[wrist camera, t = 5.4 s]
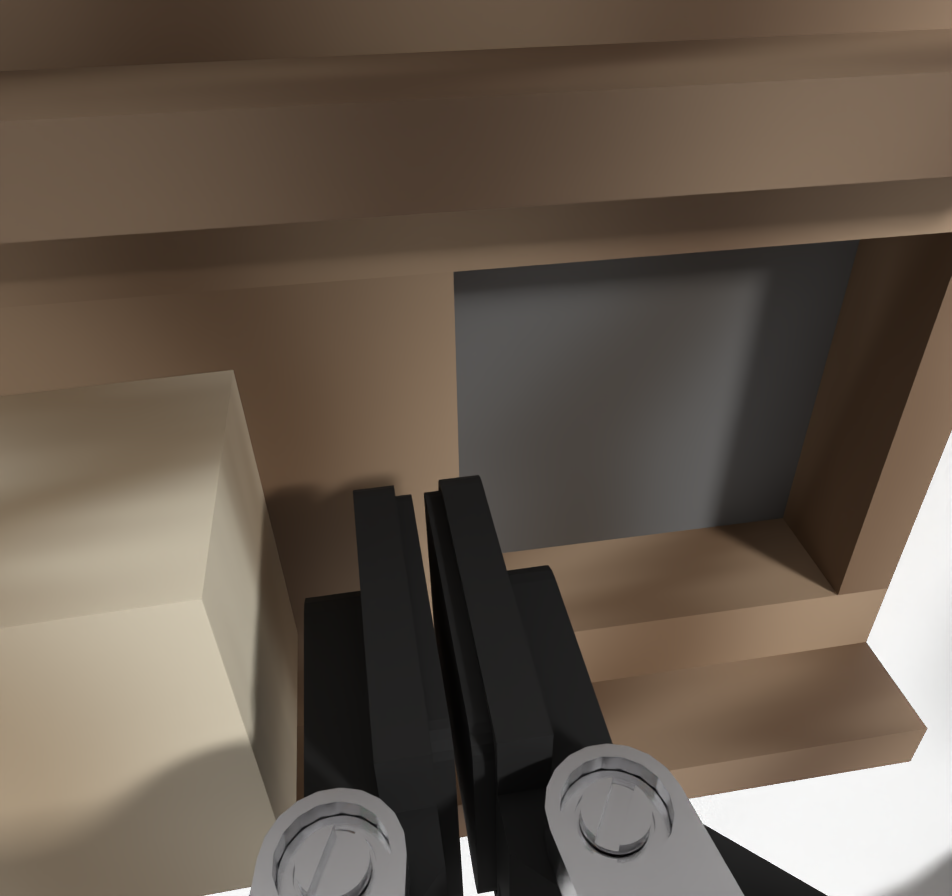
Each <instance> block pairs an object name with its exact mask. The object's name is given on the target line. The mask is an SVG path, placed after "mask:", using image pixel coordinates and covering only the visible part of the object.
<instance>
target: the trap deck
mask: <svg viewBox="0 0 952 896" xmlns="http://www.w3.org/2000/svg"><path fill="white" fill-rule="evenodd" d="M228 370H233V371H234V375H235V379H236V383H237V387H238V391H239V395H240V400H241V404H242V408H243V412H244V416H245V420H246V424H247V428H248V432H249V436H250V440H251V444H252V449H253V453H254V457H255V461H256V465H257V469H258V473H259V477H260V481H261V485H262V489H263V493H264V498H265V502H266V506H267V510H268V514H269V518H270V522H271V526H272V530H273V534H274V538H275V542H276V547H277V551H278V555H279V559H280V563H281V567H282V571H283V575H284V579H285V583H286V587H287V591H288V596H289V600H290V604H291V608H292V612H293V616H294V620H295V624H296V628H297V632H298V670H297V779H296V802H297V801H299V800H301V799H303V798H304V602H305V598H310V597H317V596H325V595H332V594H339V593H347V592H354V591H360V579H359V566H358V553H357V540H356V527H355V514H354V501H353V490H359V489H367V488H375V487H383V486H392V485H394V490H395V496H400V495H408V494H411V495H412V500H413V506H414V512H415V518H416V524H417V530H418V536H419V542H420V548H421V554H422V560H423V566H424V572H425V578H426V584H427V590H428V596H429V602H430V608H431V613H432V619H433V609H432V596H431V583H430V570H429V557H428V544H427V531H426V518H425V505H424V492H433V491H438V481H439V480H441V479H449V478H457V477H465V476H474V475H479V476H480V478H481V481H482V484H483V487H484V491H485V495H486V498H487V502H488V505H489V509H490V512H491V516H492V519H493V523H494V526H495V530H496V533H497V537H498V540H499V544H500V548H501V551H502V555H503V558H504V562H505V565H506V569H507V570H514V569H522V568H529V567H536V566H544V565H549V567H550V568H551V569H552V571H553V574H554V576H555V579H556V581H557V584H558V587H559V590H560V593H561V596H562V599H563V602H564V605H565V607H566V610H567V613H568V616H569V619H570V622H571V625H572V628H573V630H574V633H575V636H576V639H577V642H578V645H579V648H580V651H581V654H582V656H583V659H584V662H585V665H586V668H587V671H588V674H589V677H590V680H591V682H592V685H593V688H594V691H595V694H596V697H597V700H598V703H599V705H600V708H601V711H602V714H603V717H604V720H605V723H606V726H607V729H608V731H609V734H610V737H611V740H612V743H613V744H615V745H624V746H629V747H632V748H634V749H637V750H639V751H642V752H644V753H647V754H649V755H650V756H652V757H653V758H654V759H656V760H657V761H658V762H660V763H661V764H662V765H664V766H665V767H667V769H668V770H669V771H670V772H671V774H672V775H673V776H674V778H675V779H676V780H677V781H678V783H679V784H680V785H681V787H682V789H683V790H684V792H685V794H686V796H687V797H688V799H690V798H696V797H702V796H708V795H714V794H719V793H725V792H731V791H737V790H743V789H749V788H755V787H761V786H767V785H773V784H779V783H784V782H790V781H796V780H802V779H808V778H814V777H820V776H826V775H832V774H838V773H844V772H849V771H855V770H861V769H867V768H873V767H879V766H885V765H891V764H897V763H903V762H909V761H911V759H912V757H913V755H914V753H915V751H916V749H917V747H918V745H919V743H920V742H921V740H922V738H923V736H924V734H925V732H926V730H927V727H926V726H925V725H924V723H923V722H922V720H921V719H920V718H919V716H918V715H917V713H916V712H915V710H914V709H913V708H912V706H911V705H910V703H909V702H908V701H907V699H906V698H905V696H904V695H903V694H902V692H901V691H900V689H899V688H898V686H897V685H896V684H895V682H894V681H893V679H892V678H891V677H890V675H889V674H888V672H887V671H886V670H885V668H884V667H883V665H882V664H881V662H880V661H879V660H878V658H877V657H876V655H875V654H874V653H873V651H872V650H871V648H870V647H869V646H868V644H867V643H866V641H867V638H868V636H869V633H870V631H871V629H872V626H873V624H874V621H875V619H876V616H877V614H878V611H879V609H880V606H881V604H882V601H883V599H884V596H885V594H886V591H887V589H888V586H889V584H890V582H891V579H892V577H893V574H894V572H895V569H896V567H897V564H898V562H899V559H900V557H901V554H902V552H903V549H904V547H905V544H906V542H907V539H908V537H909V535H910V532H911V530H912V527H913V525H914V522H915V520H916V517H917V515H918V512H919V510H920V507H921V505H922V502H923V500H924V497H925V495H926V492H927V490H928V487H929V485H930V483H931V480H932V478H933V475H934V473H935V470H936V468H937V465H938V463H939V460H940V458H941V455H942V453H943V450H944V448H945V445H946V443H947V440H948V438H949V436H950V433H951V431H952V0H0V396H8V395H17V394H25V393H34V392H43V391H52V390H61V389H69V388H78V387H87V386H96V385H105V384H113V383H122V382H131V381H140V380H149V379H157V378H166V377H175V376H184V375H192V374H201V373H210V372H219V371H228ZM433 625H434V622H433ZM455 772H456V788H457V804H458V820H459V835H460V837H465V836H467V831H466V825H465V819H464V813H463V807H462V801H461V795H460V789H459V783H458V777H457V771H456V765H455Z"/></svg>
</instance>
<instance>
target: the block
mask: <svg viewBox="0 0 952 896" xmlns="http://www.w3.org/2000/svg"><path fill="white" fill-rule="evenodd" d="M297 670H298V632H297V628H296V624H295V620H294V616H293V612H292V608H291V604H290V600H289V596H288V591H287V587H286V583H285V579H284V575H283V571H282V567H281V563H280V559H279V555H278V551H277V547H276V542H275V538H274V534H273V530H272V526H271V522H270V518H269V514H268V510H267V506H266V502H265V498H264V493H263V489H262V485H261V481H260V477H259V473H258V469H257V465H256V461H255V457H254V453H253V449H252V444H251V440H250V436H249V432H248V428H247V424H246V420H245V416H244V412H243V408H242V404H241V400H240V395H239V391H238V387H237V383H236V379H235V375H234V371H233V370H228V371H219V372H210V373H201V374H192V375H184V376H175V377H166V378H157V379H149V380H140V381H131V382H122V383H113V384H105V385H96V386H87V387H78V388H69V389H61V390H52V391H43V392H34V393H25V394H17V395H8V396H0V896H204V895H209V894H215V893H220V892H225V891H231V890H236V889H242V888H247V887H251V886H252V881H253V876H254V870H255V865H256V860H257V857H258V854H259V851H260V849H261V846H262V843H263V840H264V837H265V835H266V834H267V833H268V831H269V830H270V828H271V827H272V826H273V824H274V823H275V821H276V820H277V818H278V817H279V816H280V815H281V814H283V813H284V812H285V811H286V810H287V809H289V808H290V807H291V806H292V805H293V804H295V803H296V779H297Z"/></svg>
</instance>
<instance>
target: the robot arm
mask: <svg viewBox="0 0 952 896" xmlns="http://www.w3.org/2000/svg"><path fill="white" fill-rule="evenodd" d="M353 501H354V514H355V527H356V540H357V553H358V566H359V579H360V591H354V592H347V593H339V594H332V595H325V596H317V597H310V598H305V602H304V798H303V799H301V800H299V801H297V802H296V803H295V804H293V805H292V806H291V807H290V808H289V809H287V810H286V811H285V812H284V813H283V814H281V815H280V816H279V817H278V818H277V820H276V821H275V823H274V824H273V826H272V827H271V828H270V830H269V831H268V833H267V834H266V835H265V837H264V840H263V843H262V846H261V849H260V851H259V854H258V857H257V860H256V865H255V870H254V876H253V881H252V886H251V891H250V895H249V896H463V883H462V867H461V851H460V835H459V820H458V804H457V788H456V772H455V765H456V771H457V777H458V783H459V789H460V795H461V801H462V807H463V813H464V819H465V825H466V831H467V837H468V843H469V849H470V855H471V861H472V867H473V873H474V879H475V884H476V889H477V893H478V894H479V893H485V892H490V891H494V894H495V896H827V895H825V894H824V893H822V892H820V891H818V890H817V889H815V888H813V887H811V886H810V885H808V884H806V883H804V882H803V881H801V880H799V879H798V878H796V877H794V876H792V875H791V874H789V873H787V872H785V871H784V870H782V869H780V868H778V867H777V866H775V865H773V864H771V863H770V862H768V861H766V860H765V859H763V858H761V857H759V856H758V855H756V854H754V853H752V852H751V851H749V850H747V849H745V848H744V847H742V846H740V845H739V844H737V843H735V842H733V841H732V840H730V839H728V838H726V837H725V836H723V835H721V834H719V833H718V832H716V831H714V830H712V829H711V828H709V827H707V826H706V825H704V824H703V823H702V822H701V820H700V818H699V816H698V815H697V813H696V811H695V809H694V808H693V806H692V804H691V803H690V801H689V799H688V797H687V796H686V794H685V792H684V790H683V789H682V787H681V785H680V784H679V783H678V781H677V780H676V779H675V778H674V776H673V775H672V774H671V772H670V771H669V770H668V769H667V767H665V766H664V765H662V764H661V763H660V762H658V761H657V760H656V759H654V758H653V757H652V756H650V755H649V754H647V753H644V752H642V751H639V750H637V749H634V748H632V747H629V746H624V745H615V744H613V743H612V740H611V737H610V734H609V731H608V729H607V726H606V723H605V720H604V717H603V714H602V711H601V708H600V705H599V703H598V700H597V697H596V694H595V691H594V688H593V685H592V682H591V680H590V677H589V674H588V671H587V668H586V665H585V662H584V659H583V656H582V654H581V651H580V648H579V645H578V642H577V639H576V636H575V633H574V630H573V628H572V625H571V622H570V619H569V616H568V613H567V610H566V607H565V605H564V602H563V599H562V596H561V593H560V590H559V587H558V584H557V581H556V579H555V576H554V574H553V571H552V569H551V568H550V567H549V565H544V566H536V567H529V568H522V569H514V570H507V569H506V565H505V562H504V558H503V555H502V551H501V548H500V544H499V540H498V537H497V533H496V530H495V526H494V523H493V519H492V516H491V512H490V509H489V505H488V502H487V498H486V495H485V491H484V487H483V484H482V481H481V478H480V476H479V475H474V476H465V477H457V478H449V479H441V480H439V481H438V491H433V492H424V505H425V518H426V531H427V544H428V557H429V570H430V583H431V596H432V609H433V619H432V613H431V608H430V602H429V596H428V590H427V584H426V578H425V572H424V566H423V560H422V554H421V548H420V542H419V536H418V530H417V524H416V518H415V512H414V506H413V500H412V495H411V494H408V495H400V496H395V490H394V485H392V486H383V487H375V488H367V489H359V490H353ZM433 622H434V625H433Z"/></svg>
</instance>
